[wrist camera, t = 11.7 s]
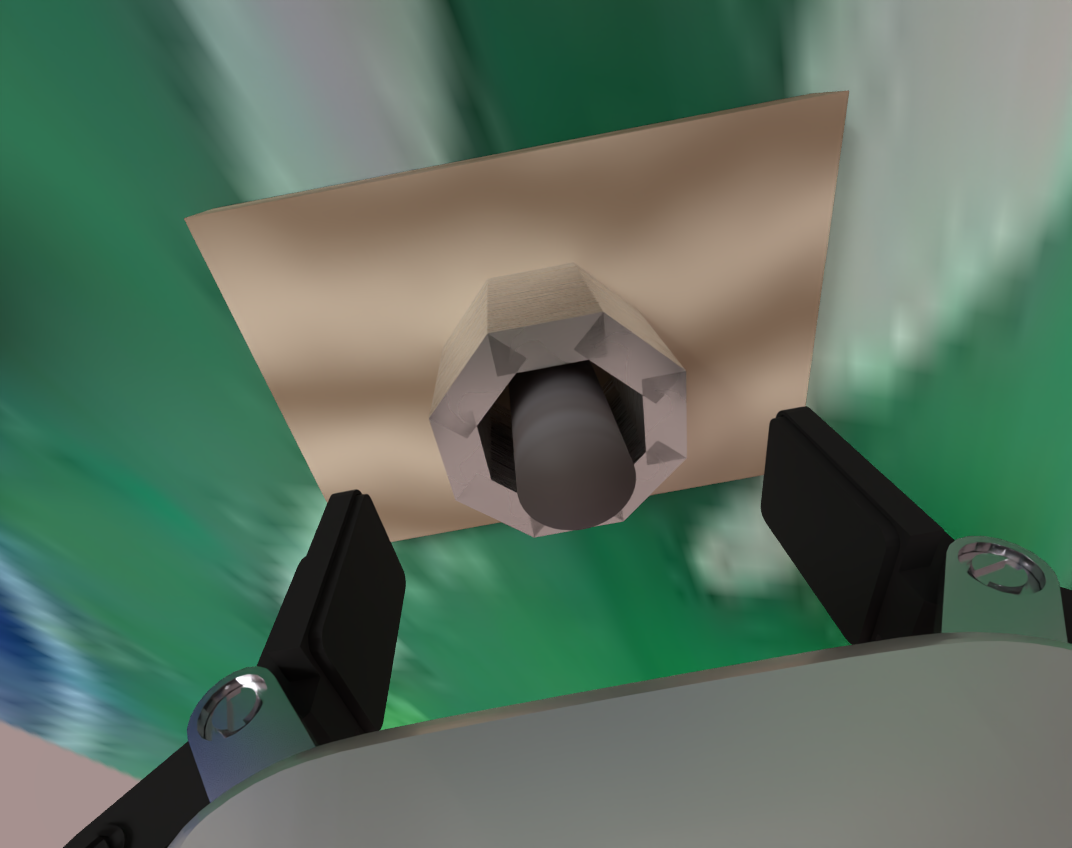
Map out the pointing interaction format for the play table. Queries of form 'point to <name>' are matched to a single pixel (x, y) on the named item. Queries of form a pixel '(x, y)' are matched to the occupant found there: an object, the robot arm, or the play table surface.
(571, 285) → the steel ring
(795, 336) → the post stand
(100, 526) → the play table surface
